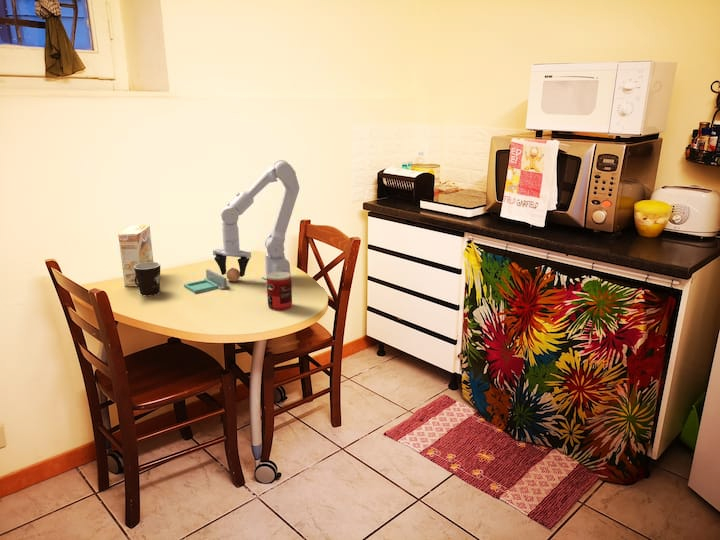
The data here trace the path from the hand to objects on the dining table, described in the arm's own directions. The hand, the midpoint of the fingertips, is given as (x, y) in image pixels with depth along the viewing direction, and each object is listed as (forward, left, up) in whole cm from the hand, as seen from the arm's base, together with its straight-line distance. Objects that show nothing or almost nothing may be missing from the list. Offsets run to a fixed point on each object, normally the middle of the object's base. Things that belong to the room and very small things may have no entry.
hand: (233, 275), depth 202 cm
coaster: (+1, +12, -2) cm, 13 cm away
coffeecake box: (+24, +26, -3) cm, 35 cm away
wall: (+1, +6, -2) cm, 7 cm away
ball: (0, 0, -2) cm, 2 cm away
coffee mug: (+7, +30, -3) cm, 31 cm away
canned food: (-33, +1, -3) cm, 33 cm away
